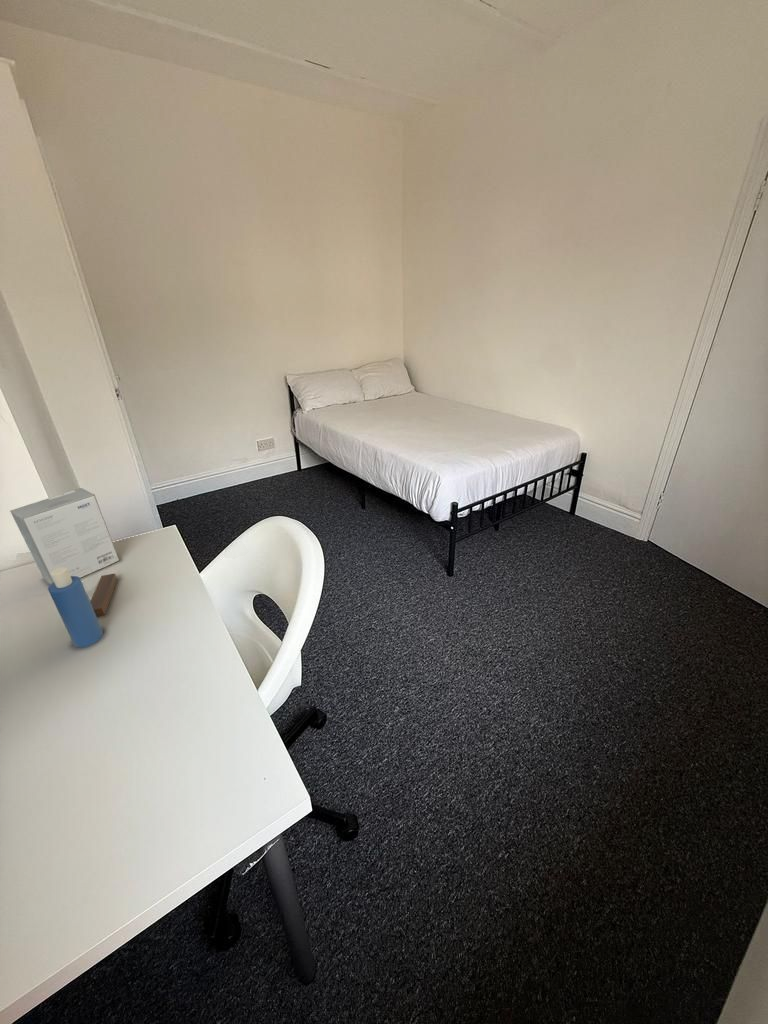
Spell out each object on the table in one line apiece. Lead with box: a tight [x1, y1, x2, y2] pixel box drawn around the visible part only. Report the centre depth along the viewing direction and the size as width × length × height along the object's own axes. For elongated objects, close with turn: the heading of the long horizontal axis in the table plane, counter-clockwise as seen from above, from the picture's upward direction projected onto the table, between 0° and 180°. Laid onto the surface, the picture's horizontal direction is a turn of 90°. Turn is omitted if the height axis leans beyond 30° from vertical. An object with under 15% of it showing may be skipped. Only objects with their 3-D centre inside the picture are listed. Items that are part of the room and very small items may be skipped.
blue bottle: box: [47, 567, 104, 648], centre depth 83 cm, size 5×5×17 cm
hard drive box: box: [9, 487, 120, 586], centre depth 104 cm, size 16×8×20 cm, turn 144°
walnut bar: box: [90, 573, 118, 618], centre depth 98 cm, size 3×14×2 cm, turn 20°
